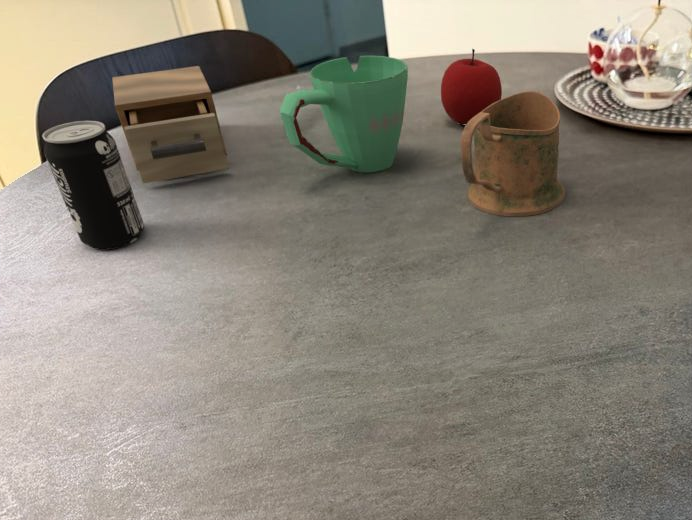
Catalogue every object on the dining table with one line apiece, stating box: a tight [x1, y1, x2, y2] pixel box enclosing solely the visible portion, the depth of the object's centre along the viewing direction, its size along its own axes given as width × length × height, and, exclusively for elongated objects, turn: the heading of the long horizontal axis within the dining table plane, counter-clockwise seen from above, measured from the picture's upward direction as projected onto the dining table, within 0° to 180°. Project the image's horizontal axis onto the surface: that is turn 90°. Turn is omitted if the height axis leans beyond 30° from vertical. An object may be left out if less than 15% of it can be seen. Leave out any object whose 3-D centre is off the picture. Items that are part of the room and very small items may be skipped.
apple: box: [440, 48, 503, 125], centre depth 101 cm, size 9×9×10 cm
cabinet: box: [111, 65, 228, 172], centre depth 96 cm, size 14×12×9 cm
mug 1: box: [279, 55, 409, 173], centre depth 87 cm, size 18×12×12 cm
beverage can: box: [41, 120, 145, 251], centre depth 73 cm, size 7×7×12 cm
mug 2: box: [460, 90, 566, 217], centre depth 78 cm, size 12×18×12 cm, turn 152°
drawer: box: [124, 99, 229, 184], centre depth 89 cm, size 17×10×7 cm, turn 24°
